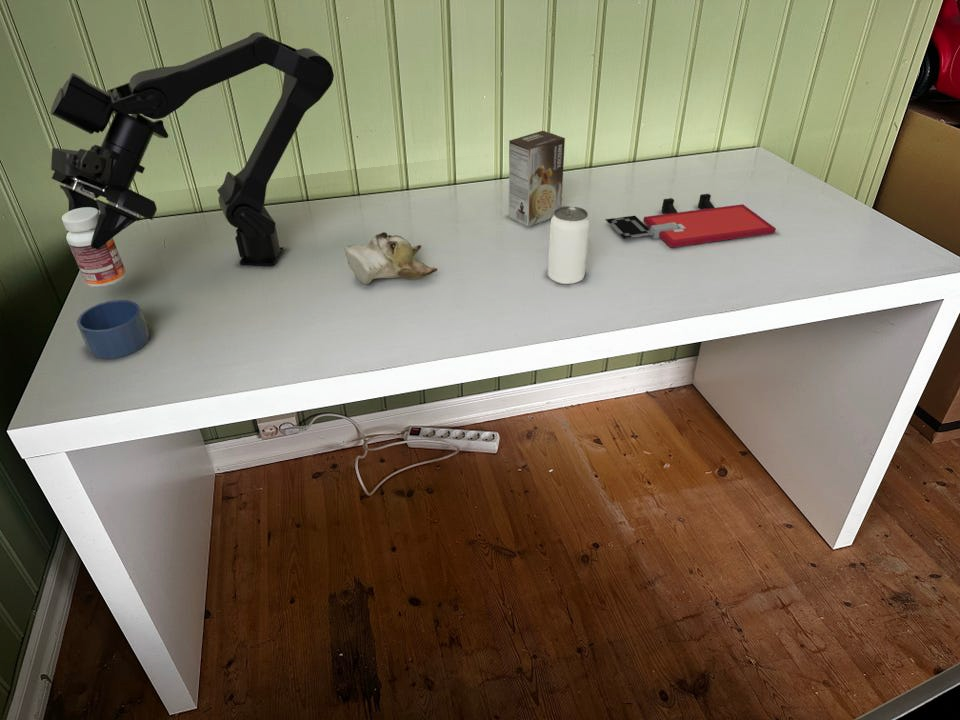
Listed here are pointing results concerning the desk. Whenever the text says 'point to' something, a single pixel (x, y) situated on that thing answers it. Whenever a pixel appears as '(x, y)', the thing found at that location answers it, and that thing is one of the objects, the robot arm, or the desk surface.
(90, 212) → the pill bottle
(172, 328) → the desk surface
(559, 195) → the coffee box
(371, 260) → the ceramic sculpture
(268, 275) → the desk surface
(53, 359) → the desk surface
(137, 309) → the cup
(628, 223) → the red board with handle
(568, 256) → the can
